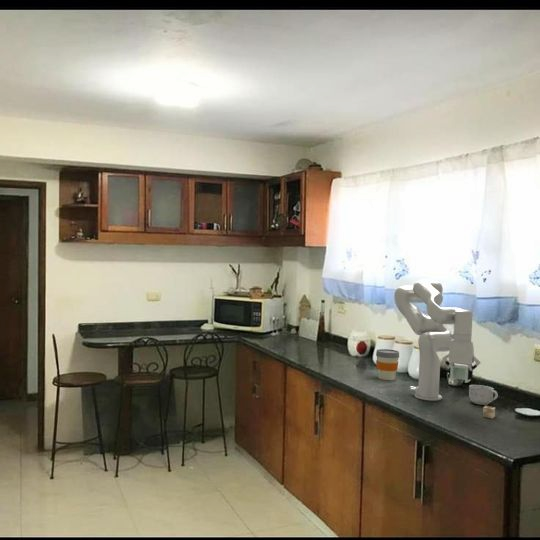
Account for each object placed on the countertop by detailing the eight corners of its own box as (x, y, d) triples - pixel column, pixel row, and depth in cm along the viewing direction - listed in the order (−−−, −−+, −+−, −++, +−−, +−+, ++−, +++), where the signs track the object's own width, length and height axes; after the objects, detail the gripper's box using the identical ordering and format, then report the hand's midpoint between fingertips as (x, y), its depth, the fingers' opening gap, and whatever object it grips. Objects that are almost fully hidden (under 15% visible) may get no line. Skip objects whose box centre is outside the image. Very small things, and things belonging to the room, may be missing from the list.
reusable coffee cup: (394, 381, 307) (395, 354, 306) (371, 378, 313) (372, 351, 312) (401, 377, 318) (402, 350, 317) (379, 374, 324) (380, 348, 323)
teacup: (463, 401, 271) (464, 384, 271) (481, 399, 275) (482, 383, 275) (484, 409, 258) (485, 391, 258) (503, 407, 262) (504, 390, 262)
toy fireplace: (450, 380, 253) (450, 365, 253) (454, 377, 258) (454, 363, 258) (466, 382, 249) (467, 368, 249) (470, 380, 254) (471, 366, 254)
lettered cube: (482, 416, 246) (483, 407, 246) (484, 414, 249) (485, 405, 249) (492, 418, 244) (493, 409, 244) (494, 416, 247) (495, 407, 247)
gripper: (440, 336, 255) (438, 376, 255) (480, 341, 245) (478, 382, 246) (445, 334, 261) (443, 373, 262) (484, 339, 252) (482, 379, 252)
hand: (460, 377), depth 254 cm, fingers closed on toy fireplace, 7 cm apart
